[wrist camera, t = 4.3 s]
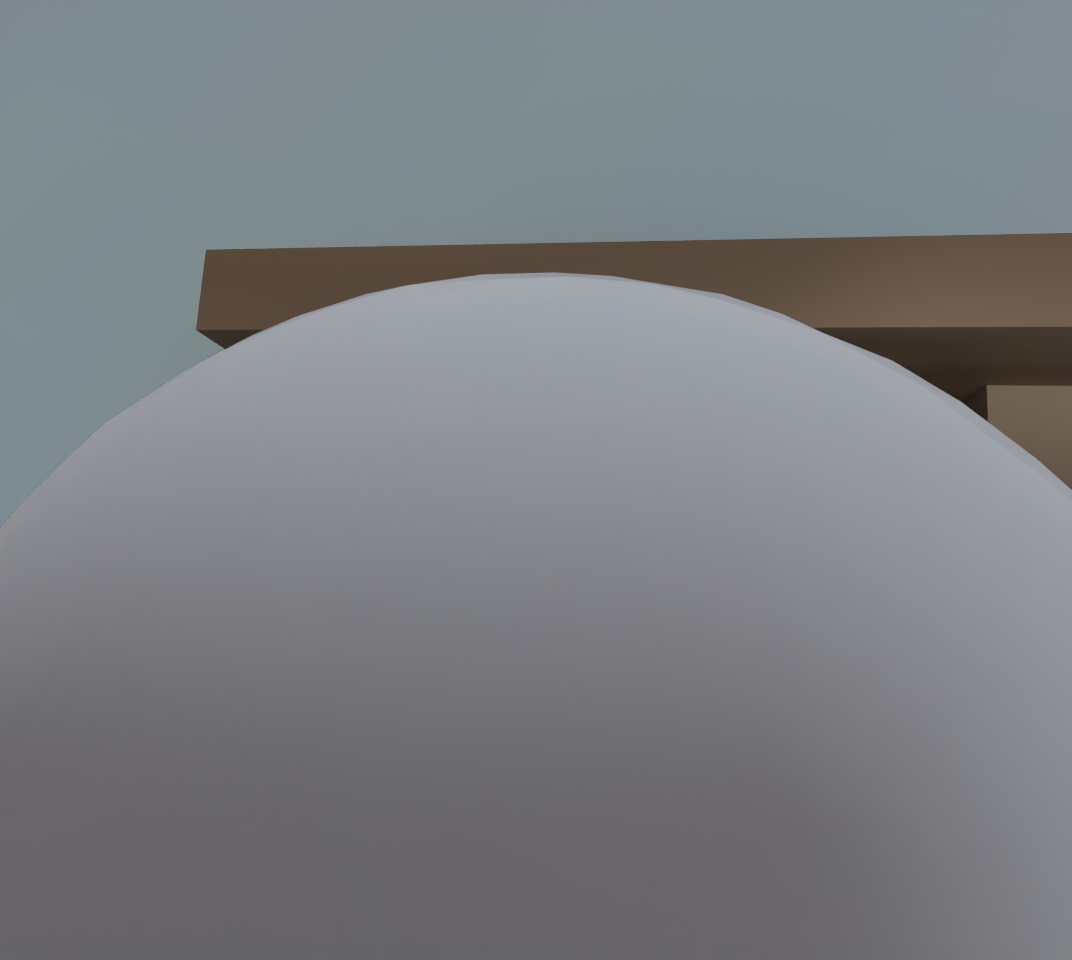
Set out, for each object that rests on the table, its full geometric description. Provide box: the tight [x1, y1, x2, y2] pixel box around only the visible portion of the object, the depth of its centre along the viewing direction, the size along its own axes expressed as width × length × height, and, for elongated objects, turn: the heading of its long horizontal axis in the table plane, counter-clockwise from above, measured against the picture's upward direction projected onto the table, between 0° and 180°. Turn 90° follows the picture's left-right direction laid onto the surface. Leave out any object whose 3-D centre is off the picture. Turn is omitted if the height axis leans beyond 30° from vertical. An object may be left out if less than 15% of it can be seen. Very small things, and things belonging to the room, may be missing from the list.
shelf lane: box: [196, 233, 1072, 490], centre depth 14 cm, size 7×12×5 cm, turn 87°
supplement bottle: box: [0, 272, 1072, 960], centre depth 9 cm, size 7×7×13 cm
